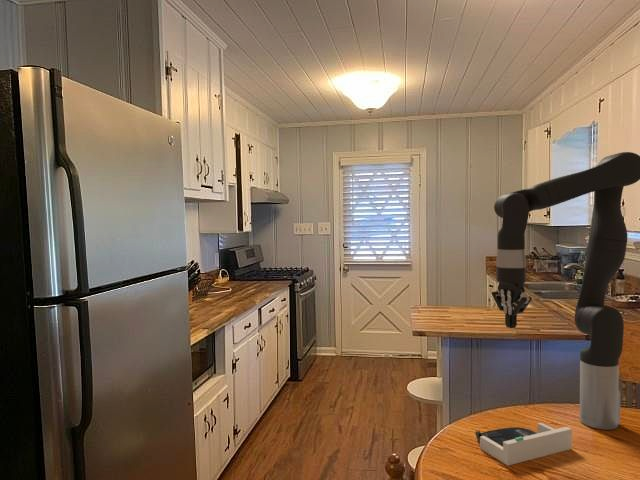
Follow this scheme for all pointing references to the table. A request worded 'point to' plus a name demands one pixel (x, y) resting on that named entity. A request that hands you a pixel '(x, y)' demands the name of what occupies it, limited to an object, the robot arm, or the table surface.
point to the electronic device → (505, 434)
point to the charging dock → (529, 445)
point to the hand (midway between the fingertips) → (510, 327)
